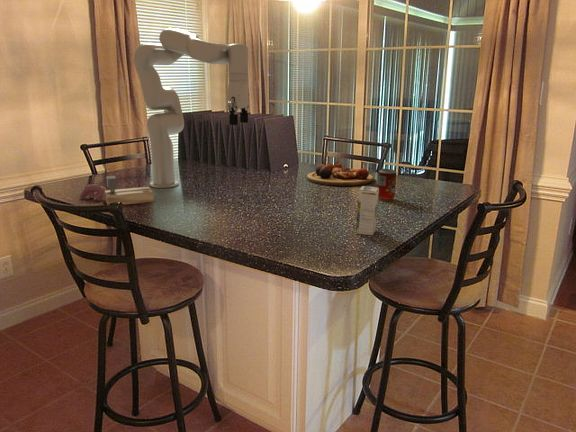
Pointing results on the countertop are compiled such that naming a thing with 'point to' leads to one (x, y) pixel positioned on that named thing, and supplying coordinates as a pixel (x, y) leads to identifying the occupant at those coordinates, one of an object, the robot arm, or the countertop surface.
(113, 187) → the fader knob
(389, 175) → the soda can
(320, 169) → the wooden plate with food
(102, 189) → the pink domed lump
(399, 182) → the countertop surface
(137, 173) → the countertop surface
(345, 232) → the countertop surface
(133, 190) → the fader board
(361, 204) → the syrup box
